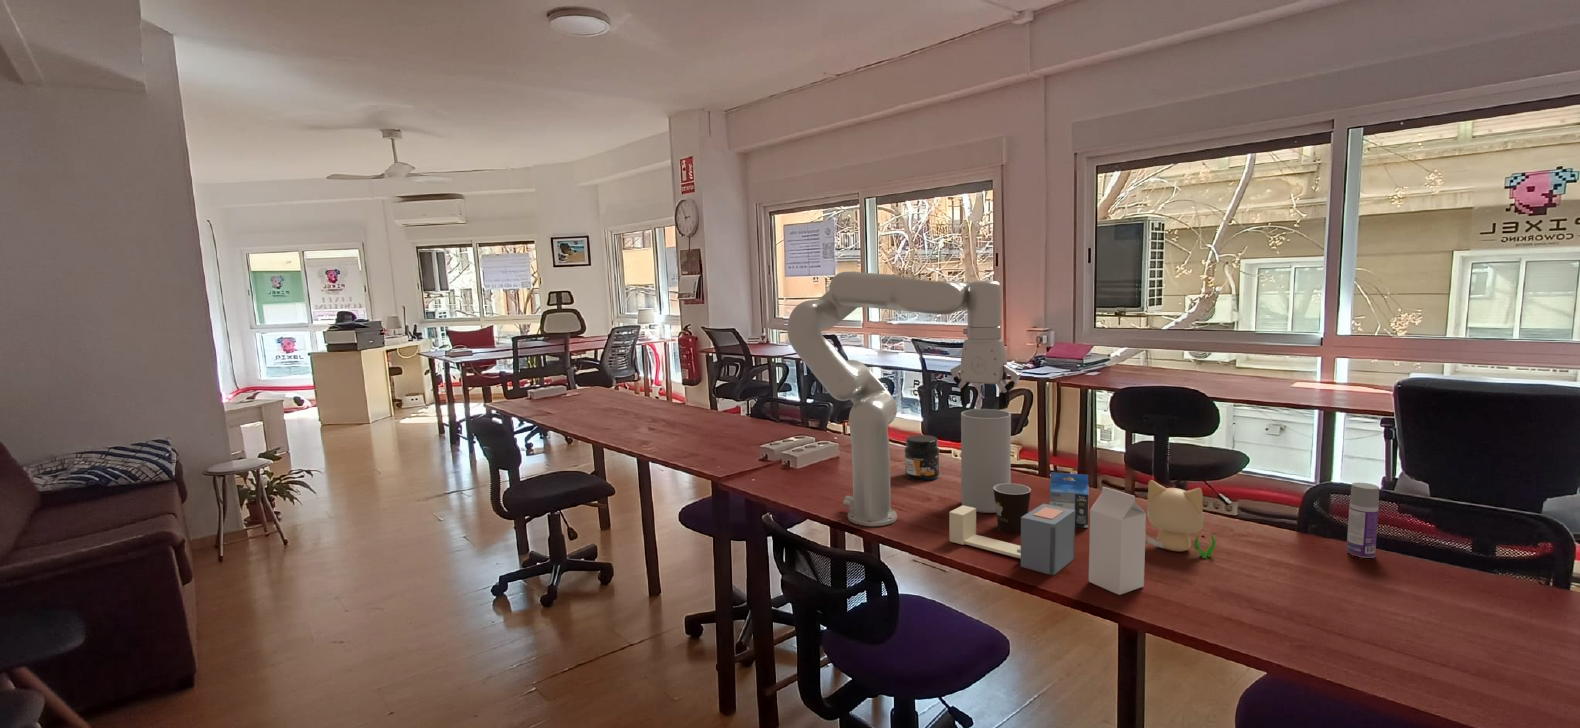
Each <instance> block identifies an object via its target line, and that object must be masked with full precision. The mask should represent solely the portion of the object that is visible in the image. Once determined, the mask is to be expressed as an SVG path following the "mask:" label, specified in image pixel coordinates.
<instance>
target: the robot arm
mask: <svg viewBox="0 0 1580 728" xmlns="http://www.w3.org/2000/svg"><path fill="white" fill-rule="evenodd" d="M829 282H830V283H829V287H828V291H827V292H825V293H824V294H823V295H822V296H820V297H819V298H818V299H810V300H804V301H802V302H801V303H798V304H797V305H796V306H795V307H794V308H793V309H792V311H791V313H790V314H789V317H788V321H787V327H786V328H787V329H786V331H787V337H788V338H787V339H788V341H789V343H790V346H791V347H792V349H793V350H794V352H795V353H796V355H797V356H798V357H799V358H800V359H801V360H802V362H803V363H804V364H805V365H806V366H807V367H808V369H809V370H810V371H811V373H812V374H813V375H814V376H815V378H817V380H818V381H819V383H820V384H821V386H823V387H824V389H825V390H826V391H827V393H829V395H830V396H831V397H832V398H834V399H835V400H837V401H841V402H846V401H849V400H850V401H851V402H852V403H853V404H852V407H851V409H850V410H849V415H848V427H849V434H850V441H851V461H852V496H850V495H846V496H845V497H844V500H843V501H842V505H843V506H846V507H849V511H848V512H847V519H848V521H849V522H851V523H853V524H855V525H858V524H859V526H862V525H863V526H862V527H881V526H887V525H888V526H889V525H890V524H893V523H895V522H896V520H897V519H898V514H897V512H896V511H895V510H893V509H892V508H891V507H892V505H891V501H892V499H891V457H890V456H891V454H890V453H891V450H890V449H891V448H890V439H889V432H888V427H889V426H890V424H892V422H894V420H895V418H896V417H897V413H898V405H897V402H896V400H895V398H894V397H893V395H892V394H891V393H890V391H889V390H888V389H887V388H886V387H885V386H884V384H883V383H882V382H881V381H880V380H879V379H878V378H877V376H876V375H875V374H874V372H873V371H871V369H870V368H869V367H868V366H867V365H865V364H864V363H863V362H861V361H858V360H855V359H848V360H846V358H844V357H843V355H842V354H841V353H840V352H839V351H838V350H837V348H836V347H835V345H833V343H831V342H830V341H829V340H828V339H826V338H825V337H824V336H823V334H822V332H825V331H828V330H830V329H832V328H834V327H836V326H837V325H838V324H839V323H841V322H842V321H843V320H844V319H846V317H848V316H849V315H850V314H852V313H853V312H854V311H856V309H858V308H871V309H880V310H890V311H895V312H896V311H897V312H898V311H899V312H901V311H904V312H912V313H922V314H932V315H944V316H945V315H952V314H954V313H959V312H963V311H967V326H966V328H963V330H962V334H963V335H966V338H967V339H964V340H963V345H962V350H961V355H960V356H961V357H960V364H958V365H956V366H954V367H952V368H950V374H951V375H952V377H953V381H954V383H955V384H956V385H957V387H958V388H959V389H960V392H959V393H960V395H959V396H960V398H959V399H960V401H961V406H965V405H966V406H967V405H970V404H971V387H970V384H971V383H972V384H973V383H975V384H984V385H987V384H988V385H996V386H997V387H998V388H999V390H1000V392H999V393H998V410H1002V411H1004V410H1005V409H1008V407H1009V406H1010V391H1012V390H1013V388H1015V386H1016V385H1017V383H1018V382H1019V380H1020V378H1021V373H1020V372H1018V371H1017V370H1015V369H1014V368H1012V367H1010V366H1009V365H1008V359H1007V351H1006V345H1005V341H1004V339H1002V286H1001V283H1000V282H999V281H996V280H976V281H975V280H974V281H971V282H969V281H959V280H947V281H946V280H945V281H943V280H942V281H939V280H926V279H914V278H908V277H907V278H906V277H903V276H901V275H897V274H891V273H890V274H889V273H888V274H887V273H872V272H860V271H857V270H856V271H842V272H841V271H840V272H839V273H836V275H834V276H833V278H832V279H831V280H830V281H829ZM1008 375H1009V376H1010V380H1009V382H1008V381H1007V379H1008Z"/></svg>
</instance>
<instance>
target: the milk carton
mask: <svg viewBox="0 0 1580 728" xmlns="http://www.w3.org/2000/svg"><path fill="white" fill-rule="evenodd" d="M1146 523H1147V511H1145V510H1144V509H1143V508H1142V507H1141V506H1140V505H1139V504H1138V502H1136V496H1135V495H1132V494H1129V493H1126V492H1122V491H1120V490H1116V489H1113V488H1109V487H1105V486H1102V489H1101V493H1100V494H1099V496H1098V497H1097V498H1096V500H1095V501H1094V503H1093V505H1092V506H1091V507H1090V509H1089V539H1088V540H1089V541H1088V542H1089V543H1088V544H1089V549H1088V550H1089V551H1088V553H1089V554H1088V582H1089V583H1091V584H1093V585H1095V586H1097V587H1100V588H1102V589H1105V590H1107V591H1109V592H1111V593H1114V594H1116V595H1119V596H1121V595H1124V594H1126V593H1129V592H1131V591H1135V590H1138V589H1140V588H1143V587H1144V586H1145V565H1146V564H1145V558H1146V557H1145V555H1146V554H1145V553H1146V541H1145V532H1146V530H1147V529H1146Z"/></svg>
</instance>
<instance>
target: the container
mask: <svg viewBox="0 0 1580 728" xmlns="http://www.w3.org/2000/svg"><path fill="white" fill-rule="evenodd" d="M1349 498H1350V499H1349V506H1348V507H1349V508H1348V523H1347V525H1348V526H1347V537H1346V550H1347V551H1348V552H1349V553H1351V554H1354V555H1358V556H1359V557H1363V558H1373V559H1375V558H1374V557H1376V547H1377V535H1378V533H1377V532H1378V522H1379V504H1380V503H1379V501H1380V486H1378V485H1377V484H1376V485H1375V484H1372V483H1368V482H1367V483H1366V482H1353V483H1351V488H1350V497H1349Z"/></svg>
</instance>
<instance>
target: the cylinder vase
mask: <svg viewBox="0 0 1580 728" xmlns="http://www.w3.org/2000/svg"><path fill="white" fill-rule="evenodd" d="M960 418H961V419H960V432H961V433H960V434H961V436H960V440H961V441H960V447H961V448H960V450H961V451H960V452H961V453H960V457H961V459H960V460H961V463H960V464H961V466H960V469H961V470H960V473H961V475H960V477H961V478H960V481H961V483H960V484H961V485H960V486H961V488H960V489H961V504H962V505H964V506H968V507H973V508H976V513H984V514H994V513H996V505H995V497H994V488H993V487H994V486H995V485H998V484H1005V483H1011V472H1012V471H1011V470H1012V469H1011V466H1012V465H1011V464H1012V463H1011V457H1012V454H1011V451H1012V449H1011V448H1012V446H1011V445H1012V443H1011V441H1012V439H1011V438H1012V437H1011V435H1012V427H1011V426H1012V414H1011V412H1009V411H1006V410H1000V409H995V408H993V409H992V408H991V409H989V408H977V409H976V408H975V409H968V410H964V411H962V412H961V413H960ZM962 505H961V506H962Z"/></svg>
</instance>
